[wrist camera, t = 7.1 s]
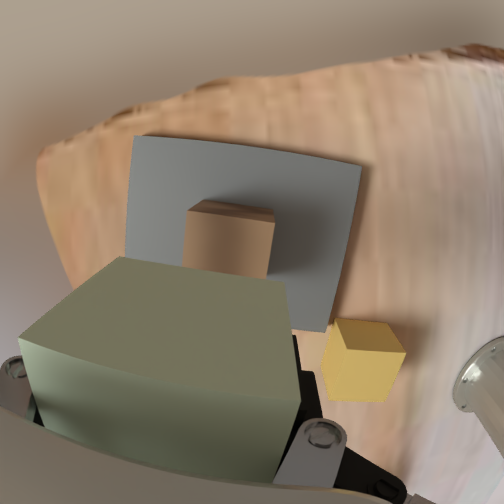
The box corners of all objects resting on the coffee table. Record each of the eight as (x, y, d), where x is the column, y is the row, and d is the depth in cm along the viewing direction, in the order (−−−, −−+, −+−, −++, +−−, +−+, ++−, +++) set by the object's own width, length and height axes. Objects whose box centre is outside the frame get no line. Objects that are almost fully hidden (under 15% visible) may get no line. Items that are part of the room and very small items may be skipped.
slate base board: (357, 165, 28) (362, 166, 26) (322, 325, 32) (325, 332, 31) (140, 136, 28) (134, 135, 26) (130, 295, 32) (125, 301, 31)
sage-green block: (284, 281, 11) (301, 400, 5) (258, 408, 13) (253, 527, 7) (119, 256, 11) (17, 337, 5) (124, 383, 13) (70, 483, 7)
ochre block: (386, 322, 32) (406, 352, 26) (370, 368, 34) (384, 401, 28) (334, 317, 32) (347, 349, 26) (320, 364, 34) (328, 400, 28)
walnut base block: (272, 209, 28) (275, 223, 22) (262, 275, 29) (261, 304, 23) (203, 199, 28) (186, 210, 22) (196, 265, 29) (180, 291, 23)
